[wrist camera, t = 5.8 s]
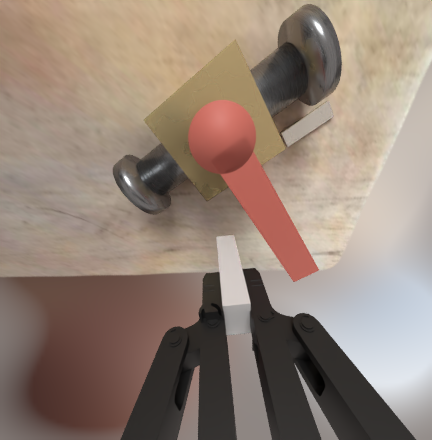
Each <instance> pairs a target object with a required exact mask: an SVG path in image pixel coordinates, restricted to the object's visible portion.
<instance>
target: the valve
mask: <svg viewBox="0 0 432 440" xmlns="http://www.w3.org/2000/svg"><path fill="white" fill-rule="evenodd" d="M341 65H342V62H341V51H340V46H339V41H338V38H337V35H336V32H335V30H334V27H333V25H332V23H331V21H330V20H329V18H328V17H327V16H326V14H325V13H324V12H323V11H322V10H321V9H320V8H318V7H317V6H315V5H312V4H306V5H304V6H302V7H301V8H299V9H298V10H297V11H296V12H295V13H293V14H292V15H291V16H290V17H289V18H288V19H286V20H285V21H284V22H283V23H282V25H281V27H280V30H279V34H278V48H277V49H276V50H275V51H274V52H272V53H271V54H270V55H269V56H267V57H266V58H265V59H264V60H263V61H261V62H260V63H259V64H258V65H256V66H255V67H254V68H253V69H252V70H249V67H248V65H247V63H246V61H245V59H244V57H243V54H242V52H241V50H240V48H239V46H238V44H237V42H236V39H235V40H234V41H233V42H232V43H231V44H229V45H228V46H227V47H226V48H225V49H224V50H223V51H221V52H220V53H219V54H218V55H217V56H216V57H215V58H214V59H212V60H211V61H210V62H209V63H208V64H207V65H206V66H204V67H203V68H202V69H201V70H200V71H199V72H198V73H197V74H195V75H194V76H193V77H192V78H191V79H190V80H189V81H187V82H186V83H185V84H184V85H183V86H182V87H181V88H179V89H178V90H177V91H176V92H175V93H174V94H173V95H172V96H170V97H169V98H168V99H167V100H166V101H165V102H164V103H162V104H161V105H160V106H159V107H158V108H157V109H156V110H154V111H153V112H152V113H151V114H150V115H149V116H148V117H147V118H145V119H144V121H145V123H146V124H147V125H148V126H149V128H150V129H151V130H152V132H153V133H154V134H155V135H156V137H157V138H158V139H159V141H160V142H161V144H159V145H158V146H157V147H156V148H155V149H153V150H152V151H151V152H150V153H148V154H147V155H146V156H145V157H144V158H142V159H139V158H137V157H135V156H133V155H126V156H124V157H123V158H122V159H121V160H120V161H118V162H117V163H116V164H115V165H114V167H113V175H114V178H115V181H116V183H117V185H118V186H119V188H120V190H121V191H122V192H123V194H124V195H125V196H126V197H127V198H128V199H129V200H130V201H131V202H132V203H133V204H134V205H135V206H136V207H138V208H139V209H141V210H142V211H144V212H146V213H149V214H153V215H156V214H159V213H161V212H162V211H164V210H165V209H166V208H168V207H169V206H170V204H171V198H170V195H169V191H171V190H172V189H174V188H175V187H176V186H178V185H179V184H180V183H182V182H183V181H185V180H186V179H187V178H189V179H190V180H191V182H192V183H193V184H194V185H195V187H196V188H197V189H198V191H199V192H200V193H201V194H202V196H203V197H204V198H205V200H206V201H208V200H210V199H211V198H213V197H214V196H216V195H217V194H219V193H220V192H222V191H223V190H225V189H226V188H228V187H229V186H228V185H227V183H226V182H225V180H224V179H223V178H222V176H221V175H220V174H216V173H212V172H209V171H207V170H205V169H204V168H202V167H201V166H200V165H199V164H198V163H197V162H196V161H195V159H194V157H193V156H192V153H191V151H190V148H189V142H188V133H189V128H190V124H191V122H192V120H193V118H194V116H195V115H196V113H197V112H198V111H199V110H200V109H201V108H202V107H204V106H205V105H206V104H208V103H210V102H213V101H217V100H228V101H232V102H235V103H237V104H239V105H241V106H242V107H243V108H244V109H245V110H246V111H247V112H248V113H249V114H250V116H251V118H252V120H253V122H254V125H255V130H256V143H255V147H254V150H253V151H254V153H255V155H256V157H257V159H258V160H259V162H260V164H261V165H262V164H264V163H265V162H267V161H269V160H270V159H272V158H273V157H275V156H276V155H278V154H279V153H281V152H282V151H284V150H285V149H286V147H285V145H284V143H283V141H282V139H281V137H280V134H279V132H278V130H277V128H276V126H275V124H274V122H273V119H272V117H273V116H275V115H276V114H277V113H279V112H280V111H282V110H283V109H284V108H286V107H287V106H288V105H290V104H291V103H293V102H294V101H295V100H297V99H299V100H300V101H302V102H303V103H304V104H306V105H310V106H312V105H315V104H317V103H319V102H320V101H321V100H323V99H324V98H326V97H327V96H329V95H330V94H331V93H333V92H334V90H335V89H336V87H337V85H338V83H339V80H340V76H341ZM332 117H334V115H333V112H332V109H331V106H330V102H329V101H326V102H325V103H323V104H322V105H321V106H319V107H318V108H316V109H315V110H313V111H312V112H310V113H309V114H307V115H306V116H305V117H303V118H302V119H300V120H299V121H297V122H296V123H294V124H293V125H292V126H290V127H289V128H287V129H286V130H284V131H283V132H281V135H282V137H283V139H284V141H285V144H286V146H287V147H289V146H290V145H292V144H293V143H295V142H296V141H298V140H299V139H301V138H302V137H304V136H305V135H307V134H308V133H310V132H311V131H313V130H314V129H316V128H317V127H319V126H320V125H322V124H323V123H325V122H326V121H328V120H329V119H331V118H332Z"/></svg>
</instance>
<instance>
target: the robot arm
mask: <svg viewBox="0 0 432 440" xmlns="http://www.w3.org/2000/svg"><path fill="white" fill-rule="evenodd" d="M216 238H217V250H218V261H219V272H216V273H206V275H205V276H204V278H203V300H202V303H203V304H202V306H201V308H200V310H199V317H200V319H199V321H198V322H197V323H195V324H194V325H192V326H190V327H188V328H185V329H184V328H182V327H173V328H171V329H170V330H168V331H167V332H166V333H165V335H164V337H163V339H162V341H161V344H160V346H159V349H158V351H157V353H156V356H155V358H154V360H153V363H152V365H151V368H150V370H149V372H148V375H147V377H146V380H145V382H144V384H143V387H142V389H141V392H140V394H139V397H138V399H137V401H136V404H135V406H134V408H133V411H132V413H131V416H130V418H129V420H128V423H127V425H126V428H125V430H124V433H123V435H122V438H121V440H177V437H178V433H179V430H180V425H181V421H182V417H183V413H184V409H185V405H186V401H187V397H188V393H189V388H190V384H191V380H192V376H193V372H194V368H195V367H197V366H198V365H200V372H199V417H198V440H237V436H236V426H235V416H234V406H233V395H232V385H231V375H230V365H229V355H228V345H227V335H235V334H245V333H250V332H251V333H252V339H253V340H252V344H253V345H252V346H253V348H252V349H253V351H254V353H255V358H256V363H257V368H258V373H259V378H260V382H261V387H262V392H263V397H264V402H265V407H266V412H267V417H268V422H269V427H270V431H271V436H272V440H321V437H320V434H319V432H318V429H317V426H316V423H315V420H314V417H313V415H312V412H311V409H310V406H309V404H308V401H307V398H306V395H305V392H304V389H303V387H302V384H301V381H300V378H299V375H298V373H297V370H296V367H295V365H296V366H297V368H298V370H299V372H300V373H301V375H302V377H303V379H304V380H305V382H306V384H307V385H308V387H309V389H310V391H311V392H312V394H313V396H314V398H315V399H316V401H317V402H318V404H319V406H320V408H321V410H322V411H323V413H324V414H325V416H326V418H327V420H328V422H329V423H330V425H331V427H332V428H333V430H334V432H335V434H336V435H337V437H338V439H339V440H416V439H415V438H414V437H413V435H412V434H411V433H410V432H409V430H408V429H407V428H406V427H405V426H404V425H403V423H402V422H401V421H400V420H399V418H398V417H397V416H396V415H395V413H394V412H393V411H392V410H391V409H390V407H389V406H388V405H387V404H386V403H385V402H384V400H383V399H382V398H381V397H380V395H379V394H378V393H377V392H376V391H375V389H374V388H373V387H372V386H371V384H370V383H369V382H368V381H367V380H366V378H365V377H364V376H363V375H362V374H361V372H360V371H359V370H358V369H357V367H356V366H355V365H354V364H353V363H352V361H351V360H350V359H349V358H348V357H347V356H346V354H345V353H344V352H343V350H342V349H341V348H340V347H339V346H338V344H337V343H336V342H335V341H334V340H333V338H332V337H331V336H330V335H329V334H328V332H327V331H326V330H325V329H324V328H323V326H322V325H321V324H320V323H319V321H318V320H316V319H315V318H314V317H313V316H311V315H309V314H305V313H300V314H297V315H296V316H295V317H290V316H285V315H282V314H280V313H278V312H276V311H275V310H274V309H273V308H272V306H271V304H270V301H269V299H268V296H267V293H266V290H265V287H264V285H263V282H262V279H261V276H260V273H259V272H258V271H257V270H256V269H255V268H250V269H242V265H241V261H240V257H239V253H238V249H237V245H236V241H235V237H234V235H227V236H217V237H216ZM294 363H295V364H294Z"/></svg>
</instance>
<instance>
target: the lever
mask: <svg viewBox="0 0 432 440" xmlns="http://www.w3.org/2000/svg"><path fill="white" fill-rule="evenodd" d="M188 142H189V148H190V151H191V153H192V156H193V157H194V159H195V161H196V162H197V163H198V164H199V165H200V166H201V167H202V168H204V169H205V170H207V171H209V172H212V173H216V174H220V175H221V176H222V178H223V179H224V180H225V182H226V183H227V185H228V186H229V188H230V189H231V191H232V192H233V194H234V195H235V197H236V198H237V199H238V201H239V202H240V204H241V205H242V207H243V208H244V210H245V211H246V213H247V214H248V216H249V217H250V219H251V220H252V221H253V223H254V224H255V226H256V227H257V229H258V230H259V232H260V233H261V235H262V236H263V238H264V239H265V240H266V242H267V243H268V245H269V246H270V248H271V249H272V251H273V252H274V254H275V255H276V257H277V258H278V260H279V261H280V262H281V264H282V265H283V267H284V268H285V270H286V271H287V273H288V274H289V276H290V277H291V279H292V280H293V282H295V281H297V280H299V279H301V278H303V277H306V276H308V275H310V274H312V273H314V272H316V271H318V270H319V269H318V267H317V265H316V264H315V262H314V260H313V258H312V256H311V255H310V253H309V251H308V249H307V247H306V246H305V244H304V242H303V240H302V238H301V236H300V235H299V233H298V231H297V229H296V227H295V226H294V224H293V222H292V220H291V218H290V217H289V215H288V213H287V211H286V209H285V208H284V206H283V204H282V202H281V200H280V198H279V197H278V195H277V193H276V191H275V189H274V188H273V186H272V184H271V182H270V180H269V179H268V177H267V175H266V173H265V171H264V169H263V168H262V166H261V164H260V162H259V160H258V159H257V157H256V155H255V153H254V151H253V150H254V147H255V143H256V130H255V125H254V122H253V120H252V118H251V116H250V114H249V113H248V112H247V111H246V110H245V109H244V108H243V107H242V106H241V105H239V104H237V103H235V102H232V101H228V100H217V101H213V102H210V103H208V104H206V105H205V106H204V107H202V108H201V109H200V110H199V111H198V112H197V113H196V115H195V116H194V118H193V120H192V122H191V124H190V128H189V133H188Z"/></svg>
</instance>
